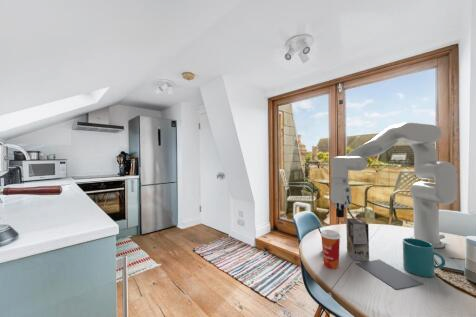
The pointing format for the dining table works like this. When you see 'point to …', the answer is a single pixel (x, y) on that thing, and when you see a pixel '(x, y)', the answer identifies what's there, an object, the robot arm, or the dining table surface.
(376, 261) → the mat
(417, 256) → the cup
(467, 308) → the dining table surface
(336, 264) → the paper cup
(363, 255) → the coffee box
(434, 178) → the robot arm
